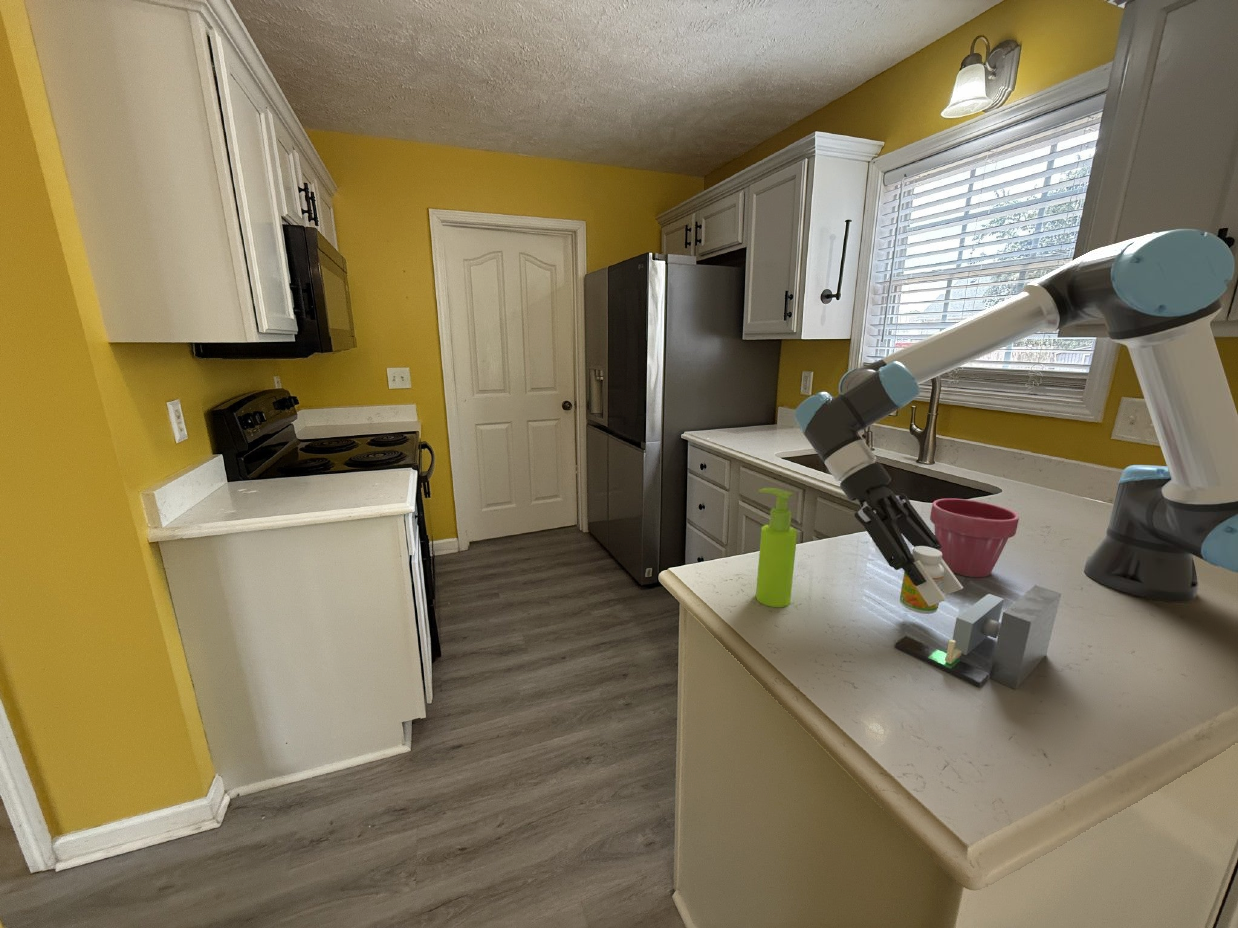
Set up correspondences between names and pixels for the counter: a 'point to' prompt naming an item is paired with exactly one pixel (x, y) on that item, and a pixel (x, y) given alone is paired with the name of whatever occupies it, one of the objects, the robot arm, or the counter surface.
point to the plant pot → (972, 534)
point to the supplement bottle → (931, 563)
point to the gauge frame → (1004, 642)
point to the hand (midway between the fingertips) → (946, 596)
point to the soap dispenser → (776, 554)
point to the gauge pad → (975, 626)
